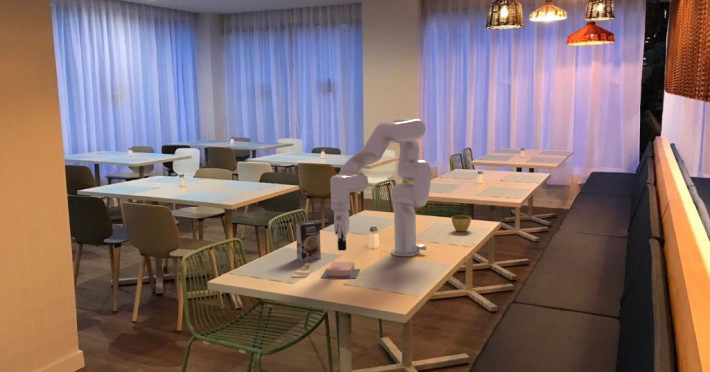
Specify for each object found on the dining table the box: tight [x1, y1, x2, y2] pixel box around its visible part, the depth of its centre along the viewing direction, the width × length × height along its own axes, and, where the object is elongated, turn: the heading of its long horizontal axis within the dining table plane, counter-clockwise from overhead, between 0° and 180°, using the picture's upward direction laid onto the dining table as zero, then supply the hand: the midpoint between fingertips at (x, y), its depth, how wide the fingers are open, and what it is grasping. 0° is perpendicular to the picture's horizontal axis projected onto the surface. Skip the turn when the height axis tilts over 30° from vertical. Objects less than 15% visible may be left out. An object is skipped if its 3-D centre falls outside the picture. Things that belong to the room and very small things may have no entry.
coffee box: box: [295, 220, 322, 262], centre depth 264 cm, size 9×6×16 cm
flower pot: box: [451, 214, 472, 232], centre depth 307 cm, size 10×10×7 cm
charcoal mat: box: [320, 268, 361, 280], centre depth 241 cm, size 14×12×1 cm
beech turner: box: [291, 262, 311, 279], centre depth 246 cm, size 17×6×1 cm, turn 172°
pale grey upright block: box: [327, 261, 355, 276], centre depth 242 cm, size 9×3×11 cm
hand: (342, 249), depth 244 cm, fingers closed
